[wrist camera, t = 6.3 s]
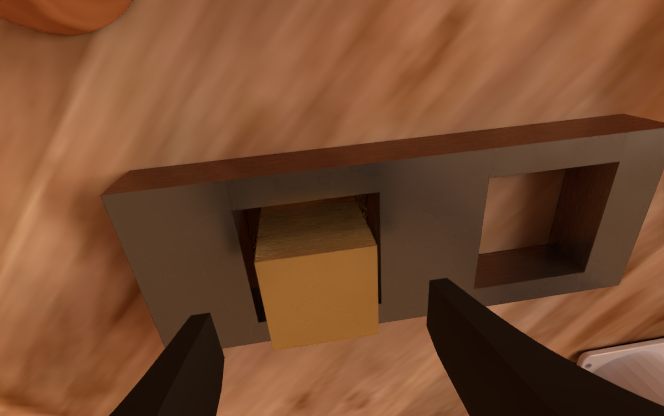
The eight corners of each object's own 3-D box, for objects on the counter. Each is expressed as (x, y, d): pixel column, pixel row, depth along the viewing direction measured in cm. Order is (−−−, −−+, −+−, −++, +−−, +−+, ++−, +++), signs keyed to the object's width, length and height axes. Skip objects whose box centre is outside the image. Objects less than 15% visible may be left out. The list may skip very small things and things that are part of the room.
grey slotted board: (623, 113, 16) (680, 125, 13) (580, 256, 19) (619, 285, 17) (129, 170, 14) (100, 195, 12) (183, 316, 17) (168, 356, 15)
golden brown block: (353, 259, 17) (378, 334, 13) (275, 270, 17) (273, 351, 13) (350, 187, 16) (377, 245, 11) (262, 198, 15) (254, 262, 11)
